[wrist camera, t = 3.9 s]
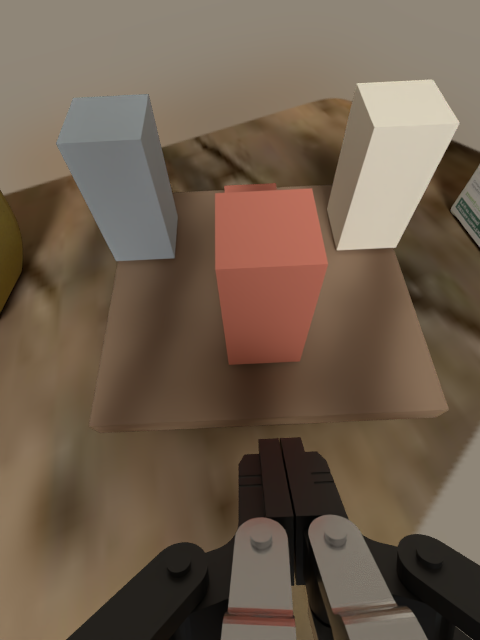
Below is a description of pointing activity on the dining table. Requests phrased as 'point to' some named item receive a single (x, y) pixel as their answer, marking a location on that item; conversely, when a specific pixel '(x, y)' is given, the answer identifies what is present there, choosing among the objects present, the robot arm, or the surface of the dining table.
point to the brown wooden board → (262, 378)
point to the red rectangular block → (268, 272)
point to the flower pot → (9, 251)
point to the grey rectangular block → (122, 174)
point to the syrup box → (469, 207)
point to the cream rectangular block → (387, 160)
